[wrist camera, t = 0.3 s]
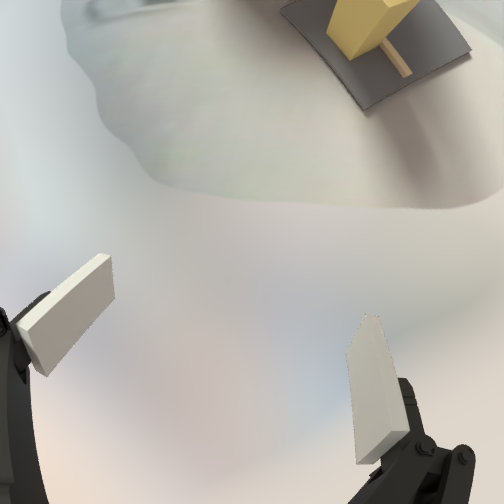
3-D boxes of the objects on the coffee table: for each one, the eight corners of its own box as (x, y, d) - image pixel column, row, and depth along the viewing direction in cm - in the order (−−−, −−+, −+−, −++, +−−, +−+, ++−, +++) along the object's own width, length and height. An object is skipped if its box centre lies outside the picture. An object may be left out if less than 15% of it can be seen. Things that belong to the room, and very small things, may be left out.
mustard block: (349, 60, 30) (389, 7, 14) (325, 33, 29) (348, -32, 13) (377, 46, 28) (425, -6, 13) (353, 19, 27) (387, -43, 12)
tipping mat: (363, 110, 32) (368, 108, 30) (280, 11, 29) (279, 4, 27) (469, 51, 26) (476, 48, 24) (398, -34, 22) (402, -41, 20)
